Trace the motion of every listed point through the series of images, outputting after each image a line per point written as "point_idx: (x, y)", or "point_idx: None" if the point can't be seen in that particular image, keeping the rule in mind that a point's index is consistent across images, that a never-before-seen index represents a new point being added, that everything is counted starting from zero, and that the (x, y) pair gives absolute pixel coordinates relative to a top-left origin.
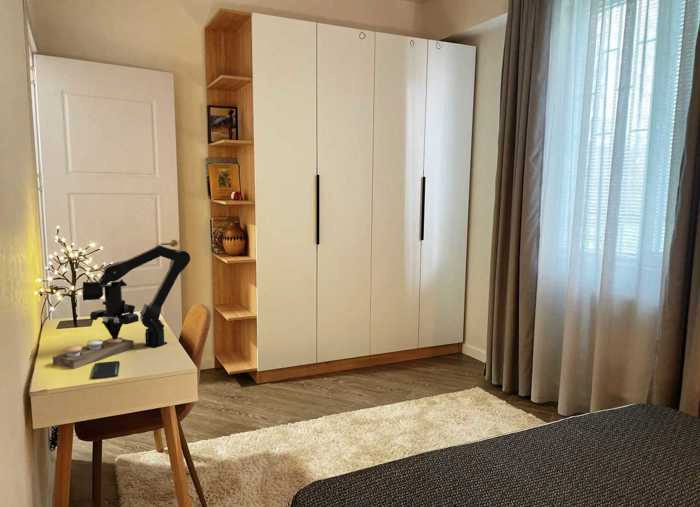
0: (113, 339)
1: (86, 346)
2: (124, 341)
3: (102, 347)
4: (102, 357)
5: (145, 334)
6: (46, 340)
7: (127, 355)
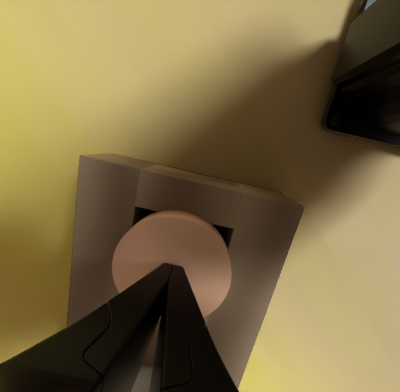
0: None
1: None
2: (243, 244)
3: None
4: None
5: (397, 54)
6: None
7: (311, 314)
